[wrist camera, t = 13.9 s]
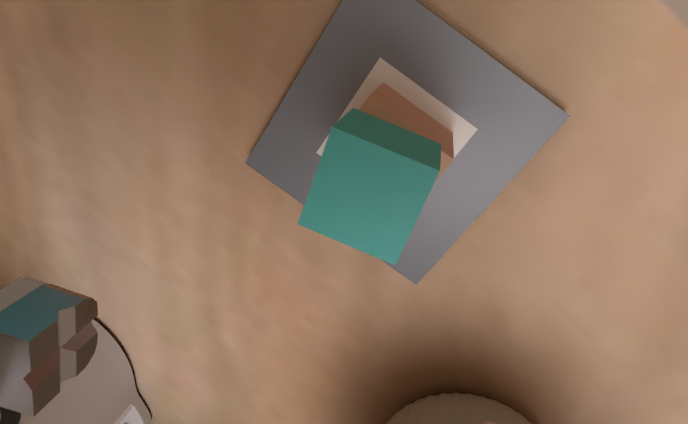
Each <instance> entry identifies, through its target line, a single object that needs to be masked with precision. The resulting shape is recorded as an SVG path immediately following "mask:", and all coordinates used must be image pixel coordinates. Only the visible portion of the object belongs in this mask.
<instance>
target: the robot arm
mask: <svg viewBox="0 0 688 424" xmlns="http://www.w3.org/2000/svg"><path fill="white" fill-rule="evenodd" d="M97 315H98V310H97V301H95V300H94V299H93V298H91V297H88V296H85V295H82V294H79V293H76V292H73V291H70V290H67V289H64V288H61V287H59V286H56V285H53V284H48V283H45V282H42V281H39V280H36V279H33V278H31V277H25V278H19V279H18V280H16V281H14V282H12V283H11V284H9V285H7V286H6V287H4V288H2V289H0V424H149V423H150V421H151V416H150V413H149V411H148V409H147V407H146V406H145V404H144V403H143V401H142V399H141V398H140V396H139V395H138V393H137V390H136V386H135V381H134V376H133V372H132V369H131V366H130V364H129V362H128V360H127V358H126V356H125V354H124V352H123V351H122V349H121V347H120V346H119V345H118V343H117V342H116V341H115V339H114V338H113V337H112V336H111V335H110V334H109V333H108V332H107V331H106V330H105V329H104V328H103V327H102V326H101V325H100V324H99V323H98V322H96V321H95V320H94V318H95V317H96V316H97ZM484 424H496V423H493V422H490V421H485V423H484Z"/></svg>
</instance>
